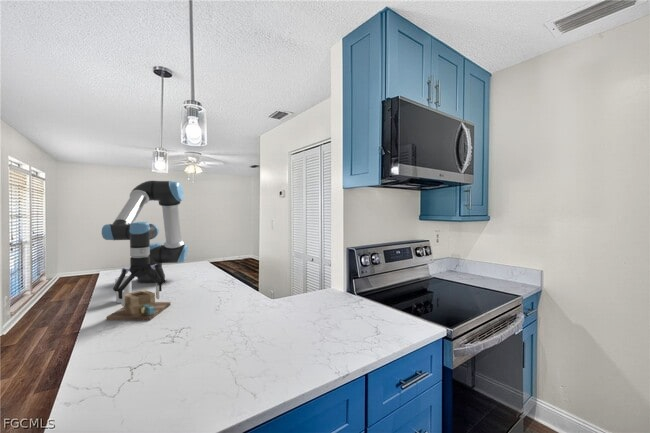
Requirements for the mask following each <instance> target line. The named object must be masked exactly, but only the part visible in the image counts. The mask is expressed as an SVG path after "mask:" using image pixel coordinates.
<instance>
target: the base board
mask: <svg viewBox="0 0 650 433" xmlns="http://www.w3.org/2000/svg"><path fill="white" fill-rule="evenodd" d="M171 303H172V302H171V301H155V314H152V315H149V314H146V313H145V315H144V316H141V312H140V313H137V314H132V313H129V312H127V311H125V310H124V306H122V307H121V308H119V309H117V310H115V311H114V312H112V313H110V314H108V315H107V316H106V319H105V320H106V321H151V320H152V319H154V318H155V317H157V316H158V315H159V314H161V313H162V312H163V311H164V310H166V309H167V308H169V307H170V306H171V305H172V304H171Z"/></svg>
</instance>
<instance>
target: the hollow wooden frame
mask: <svg viewBox="0 0 650 433" xmlns="http://www.w3.org/2000/svg"><path fill="white" fill-rule="evenodd" d="M139 295H140V296H139ZM155 302H156V292H152V291H150V290H147V289H143V290H142V289H141V290H138V291H133V292H131V293H129V294H125V306H123V307H124V310H125V311H127V312H129V313H132V314H137V313H140V312H141V308H142V307H145V313H146V314H149V315H152V314H155Z"/></svg>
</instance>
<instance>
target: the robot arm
mask: <svg viewBox="0 0 650 433" xmlns="http://www.w3.org/2000/svg"><path fill="white" fill-rule="evenodd" d="M183 200H184V191H183V187H182V184H181V183H180V182H178V181H172V180H170V181H169V180H146V181H144V182H142V183H140V184H138V185H137V186H135V187H134V188H133V189H132V190H130V193H129V199H128V200H127V201H126V203H125V205H124V206H123V208H122V209H121V211H120V212H119V213H118V215H117V216H116V217H115V219H114V221H113V222H112V224H111V223H108V224H107V223H106V224H104V225H103V226H102V228H101V236H102V239H103V240H105V241H129V252H130V253H129V254H130V260H129V261H130V263H129V265H130V267H129V268H125V267H123V268H121V273H120V275H119V276H118V277H119V279H118V280H117V282H116V284H115V283H114V286H113V288H112V290H113V292H116V291H117V292H118V297H119V299H121V303H120V304H121V306H122V307H124V306H125V293H124V289H125V287H126V286H127V285H128V284H129V283H130V282H131V280H134V279H135V278H137V279H136V280H137V283H142V284H147V283H148V284H149V283H151V284H152V283H156V284H155V299H156V300H160V292H162V285H163V284H166V283H167V282H166V281H167V280H166V273H165V272H164V269H163V265H162V264H181V263H184V262H185V261H186V259H187V255H188V251H189V250H188V248H189V247H188V245H187V244H185V242H184V240H182V235H181V225H180V212H179V205H180V204H181V202H182V201H183ZM150 201H151V202H152V201H154V202H155V201H158V205H159V206H161V208H162V218H163V227H164V228H163V229H164V236H165V242H164V243H162V242H154V243H153V242H152V243H150V242H151V240H153V239H155V238H157V237H158V235H159V233H160V229H159V227H158V226H157V225H156V224H154V223H149V222H148V221H136V220H137V218H138V217H139V214H140V213H141V211H142V209H143V208H144V205H146V204H148V203H149V202H150ZM129 272H130V274H129V275H128V276H129V277H128V278H127V279H126V281H125V282H124V283H123V284H122V285H121V286H120V284H121V283H122V281H123V279H124V277H125V276H127V274H128V273H129ZM119 286H120V287H119Z"/></svg>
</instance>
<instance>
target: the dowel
mask: <svg viewBox="0 0 650 433" xmlns="http://www.w3.org/2000/svg"><path fill="white" fill-rule="evenodd" d="M144 315H145V307H142V308H141V316H144Z"/></svg>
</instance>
